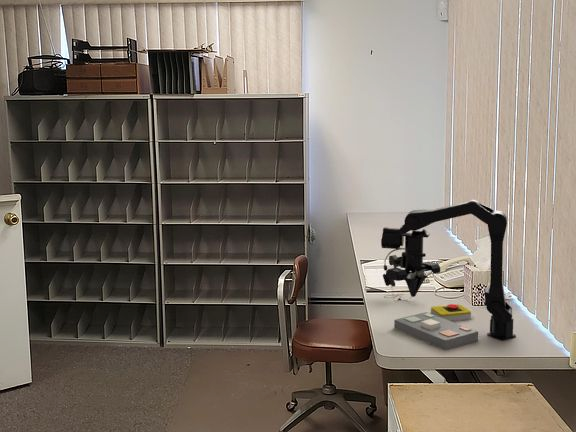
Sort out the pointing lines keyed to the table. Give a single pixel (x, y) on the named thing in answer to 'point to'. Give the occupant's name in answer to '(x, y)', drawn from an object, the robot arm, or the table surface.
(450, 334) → the terracotta key
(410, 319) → the sage key
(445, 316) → the emergency button
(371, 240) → the table surface
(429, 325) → the offwhite key
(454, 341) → the keypad
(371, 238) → the table surface
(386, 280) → the headphones
